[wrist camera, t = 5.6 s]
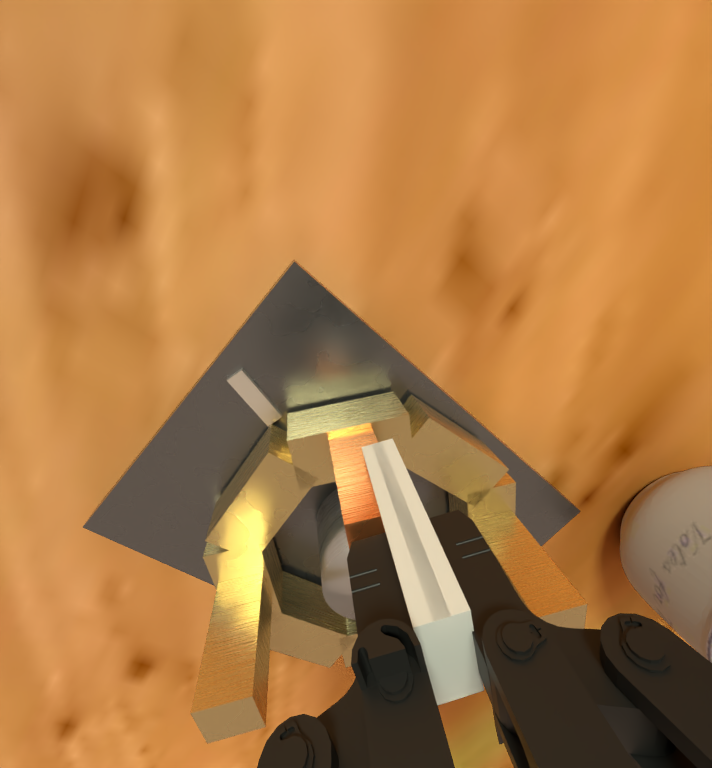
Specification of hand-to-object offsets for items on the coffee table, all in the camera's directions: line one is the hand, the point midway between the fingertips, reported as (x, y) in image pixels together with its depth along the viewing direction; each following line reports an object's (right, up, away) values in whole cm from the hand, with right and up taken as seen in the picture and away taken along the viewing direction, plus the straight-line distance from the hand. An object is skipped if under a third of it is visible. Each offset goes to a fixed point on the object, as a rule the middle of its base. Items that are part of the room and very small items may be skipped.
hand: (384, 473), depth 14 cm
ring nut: (-1, -4, +6) cm, 8 cm away
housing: (-1, -3, +8) cm, 9 cm away
